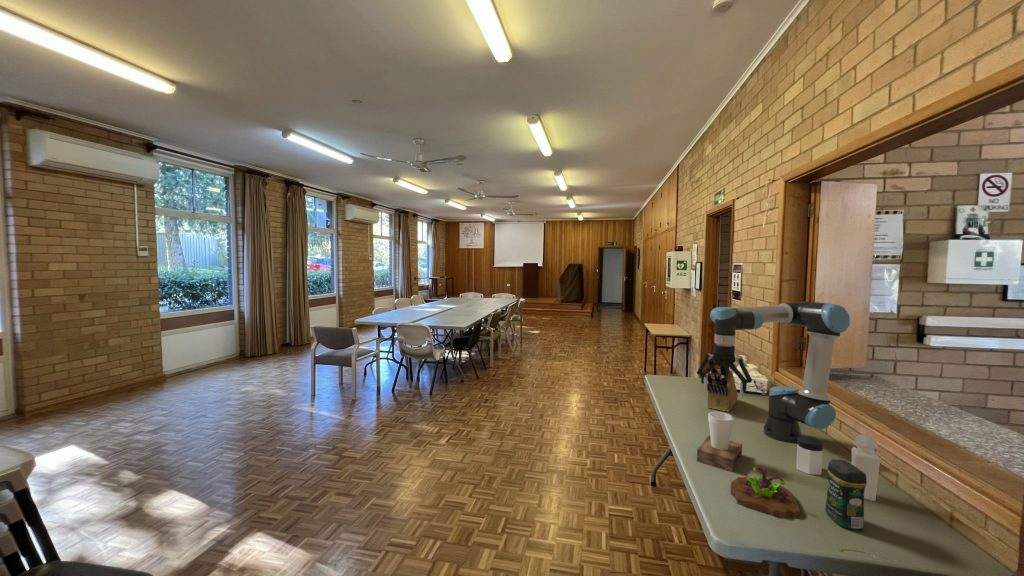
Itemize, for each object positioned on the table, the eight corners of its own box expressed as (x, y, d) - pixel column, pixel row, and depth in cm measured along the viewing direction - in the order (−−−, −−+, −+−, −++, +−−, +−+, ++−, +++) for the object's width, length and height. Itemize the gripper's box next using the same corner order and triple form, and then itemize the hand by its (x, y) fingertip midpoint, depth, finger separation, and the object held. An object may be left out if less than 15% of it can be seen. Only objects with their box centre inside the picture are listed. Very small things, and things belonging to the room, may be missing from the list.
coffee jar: (820, 510, 130) (823, 456, 129) (846, 512, 129) (849, 457, 128) (840, 530, 121) (844, 471, 119) (869, 532, 120) (873, 473, 119)
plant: (727, 478, 150) (729, 450, 149) (789, 491, 142) (791, 461, 141) (732, 508, 132) (734, 475, 131) (803, 524, 124) (805, 489, 123)
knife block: (702, 412, 216) (703, 357, 214) (717, 396, 243) (719, 346, 241) (724, 418, 209) (727, 360, 207) (738, 400, 236) (740, 349, 234)
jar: (827, 472, 154) (828, 442, 153) (815, 477, 151) (817, 447, 150) (802, 462, 162) (803, 433, 161) (790, 466, 159) (791, 437, 158)
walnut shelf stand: (741, 455, 168) (742, 443, 168) (732, 472, 154) (732, 459, 154) (708, 446, 176) (709, 435, 176) (696, 461, 163) (697, 449, 162)
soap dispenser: (877, 502, 135) (881, 440, 133) (852, 496, 138) (856, 435, 137) (873, 493, 140) (876, 433, 139) (849, 487, 144) (852, 428, 142)
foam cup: (735, 452, 160) (737, 421, 159) (711, 450, 161) (712, 419, 161) (728, 442, 169) (729, 412, 168) (704, 440, 171) (705, 410, 170)
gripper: (689, 342, 168) (688, 390, 170) (758, 350, 152) (756, 404, 154) (695, 339, 174) (693, 386, 175) (761, 347, 158) (759, 398, 159)
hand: (722, 394), depth 165 cm, fingers open, 13 cm apart
